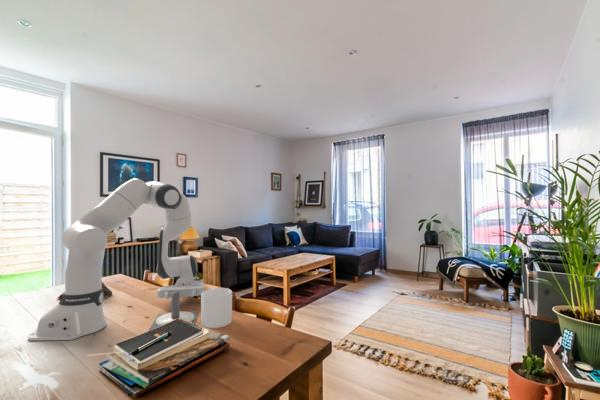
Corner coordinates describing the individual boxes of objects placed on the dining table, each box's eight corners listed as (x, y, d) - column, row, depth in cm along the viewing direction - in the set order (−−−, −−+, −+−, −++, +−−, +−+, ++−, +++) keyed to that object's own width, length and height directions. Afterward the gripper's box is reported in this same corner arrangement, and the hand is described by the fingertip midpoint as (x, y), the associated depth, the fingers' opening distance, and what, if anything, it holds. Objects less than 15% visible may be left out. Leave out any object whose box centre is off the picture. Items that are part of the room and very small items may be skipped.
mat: (148, 331, 108) (148, 330, 108) (158, 315, 124) (158, 314, 124) (194, 327, 112) (194, 326, 112) (198, 312, 128) (198, 311, 128)
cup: (208, 331, 109) (209, 298, 109) (196, 322, 117) (196, 291, 117) (237, 323, 116) (237, 292, 116) (223, 314, 125) (223, 286, 125)
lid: (151, 329, 110) (152, 299, 110) (160, 315, 123) (160, 288, 123) (191, 325, 113) (192, 296, 113) (195, 312, 126) (196, 286, 127)
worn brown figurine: (90, 306, 141) (81, 271, 138) (83, 304, 144) (75, 270, 140) (114, 294, 151) (107, 261, 148) (108, 293, 154) (101, 260, 151)
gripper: (160, 281, 139) (153, 290, 125) (206, 279, 144) (203, 287, 130) (160, 295, 139) (153, 305, 125) (206, 292, 144) (203, 301, 130)
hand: (179, 296), depth 128 cm, fingers open, 8 cm apart
